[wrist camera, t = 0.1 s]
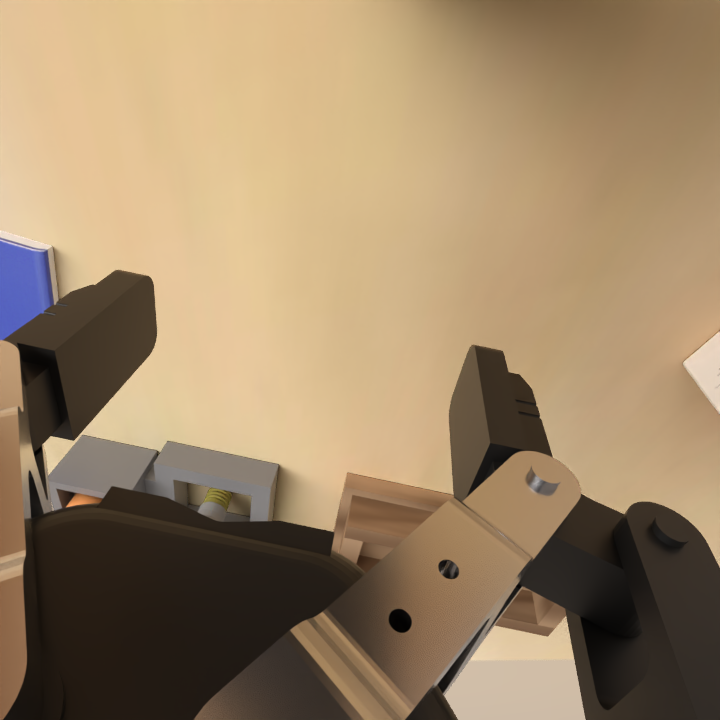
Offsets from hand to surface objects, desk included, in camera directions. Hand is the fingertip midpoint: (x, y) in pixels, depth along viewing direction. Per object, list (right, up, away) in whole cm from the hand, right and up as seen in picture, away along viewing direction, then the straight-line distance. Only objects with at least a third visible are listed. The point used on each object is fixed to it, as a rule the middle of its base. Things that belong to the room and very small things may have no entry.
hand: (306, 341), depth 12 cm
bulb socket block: (-15, -11, +31) cm, 36 cm away
